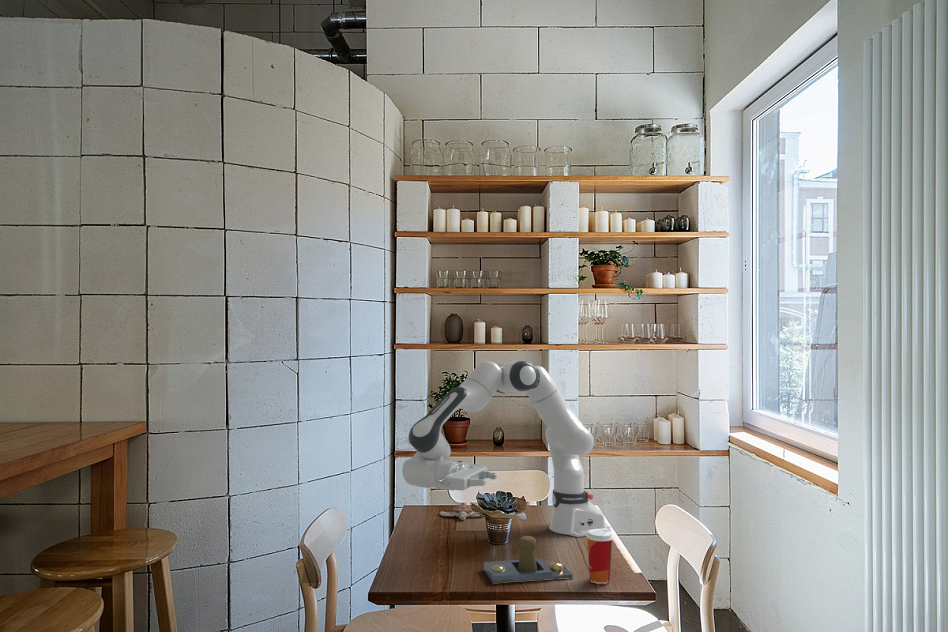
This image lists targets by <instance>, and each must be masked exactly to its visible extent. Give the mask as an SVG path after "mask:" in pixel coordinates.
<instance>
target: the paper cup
mask: <svg viewBox="0 0 948 632" xmlns="http://www.w3.org/2000/svg"><path fill="white" fill-rule="evenodd" d="M585 537H586V538H587V540H586V541H587V555H588V572H589V581H590V580H592V581H595V582H607V581H609V582H610V579H611V565H612V564H611V562H612V547H613V545H612V544H613V540H614V536H613V534H612V531H611V532H610V531H606V530H602V529H592V530H589V531H588V534H587V535H586V536H585Z"/></svg>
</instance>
